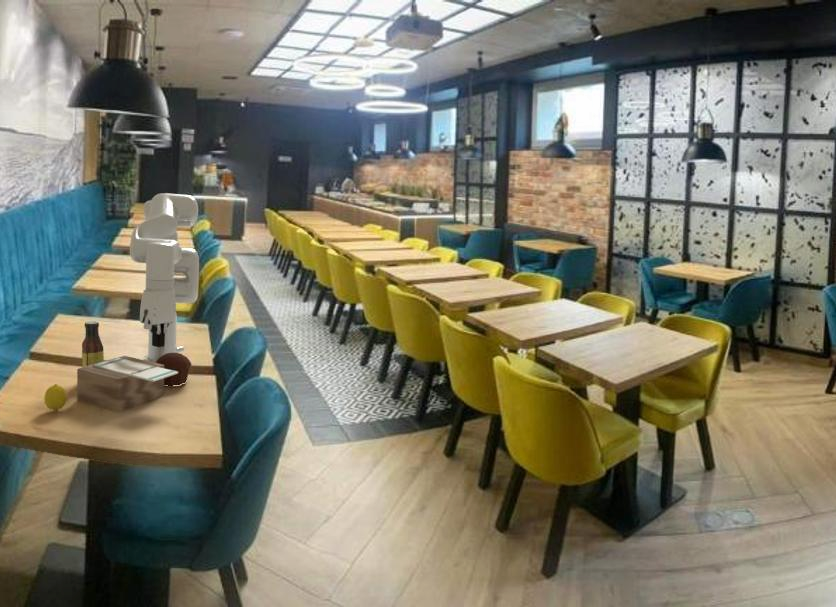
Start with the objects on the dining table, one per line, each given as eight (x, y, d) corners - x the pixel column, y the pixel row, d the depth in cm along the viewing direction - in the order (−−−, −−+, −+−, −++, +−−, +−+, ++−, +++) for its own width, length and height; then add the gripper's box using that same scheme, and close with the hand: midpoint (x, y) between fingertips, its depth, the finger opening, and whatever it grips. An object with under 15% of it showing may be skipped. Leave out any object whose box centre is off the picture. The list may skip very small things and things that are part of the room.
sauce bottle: (108, 380, 209) (108, 321, 206) (96, 385, 203) (97, 325, 199) (89, 377, 210) (89, 319, 206) (77, 383, 204) (77, 323, 200)
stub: (157, 368, 195) (157, 366, 195) (178, 373, 192) (178, 371, 192) (132, 376, 186) (132, 374, 186) (153, 381, 183) (153, 379, 183)
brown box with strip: (124, 385, 206) (124, 353, 204) (163, 395, 201) (164, 363, 199) (77, 400, 189) (77, 366, 187) (118, 412, 184) (119, 377, 182)
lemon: (50, 407, 183) (50, 380, 181) (70, 408, 183) (70, 382, 182) (40, 414, 177) (40, 386, 176) (61, 415, 178) (61, 388, 176)
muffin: (146, 383, 210) (147, 354, 208) (171, 375, 220) (171, 347, 218) (174, 390, 206) (175, 361, 204) (198, 382, 216) (199, 354, 214)
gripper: (167, 280, 192) (166, 339, 195) (129, 285, 178) (128, 349, 181) (187, 284, 190) (185, 343, 193) (150, 289, 176) (149, 353, 179)
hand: (158, 346), depth 187 cm, fingers closed
